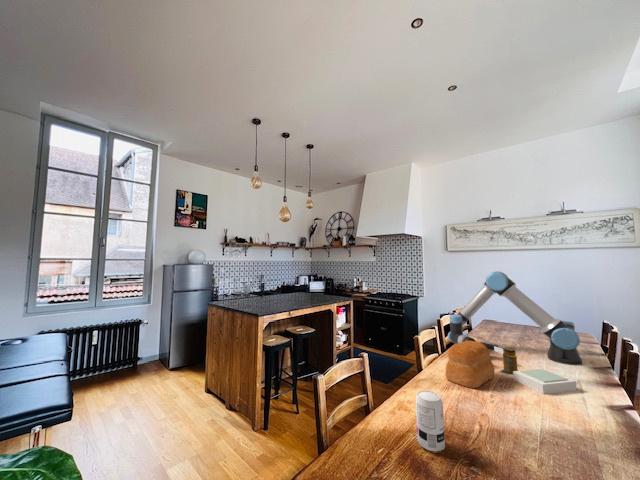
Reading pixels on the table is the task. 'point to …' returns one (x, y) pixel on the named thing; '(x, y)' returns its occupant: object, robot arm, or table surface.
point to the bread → (469, 364)
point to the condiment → (509, 361)
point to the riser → (544, 381)
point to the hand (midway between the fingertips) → (493, 352)
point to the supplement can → (430, 421)
